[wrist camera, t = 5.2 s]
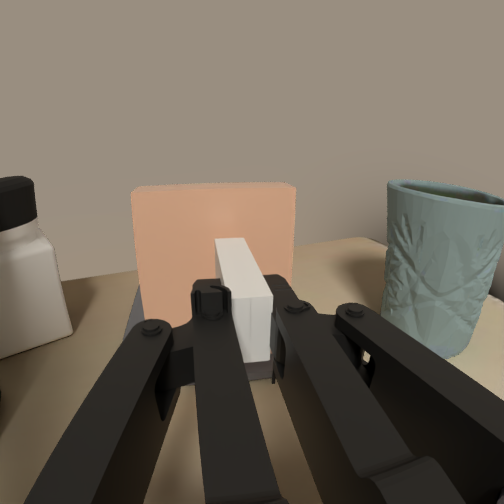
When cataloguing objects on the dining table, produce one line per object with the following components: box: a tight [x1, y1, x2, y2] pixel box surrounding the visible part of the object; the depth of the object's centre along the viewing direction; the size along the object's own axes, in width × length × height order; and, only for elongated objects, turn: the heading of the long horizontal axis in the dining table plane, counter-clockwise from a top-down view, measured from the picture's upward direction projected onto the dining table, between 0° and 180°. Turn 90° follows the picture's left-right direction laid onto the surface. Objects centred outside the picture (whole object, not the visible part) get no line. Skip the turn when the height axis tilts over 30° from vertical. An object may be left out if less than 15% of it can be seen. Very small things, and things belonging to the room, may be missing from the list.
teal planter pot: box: [380, 180, 504, 359], centre depth 22 cm, size 10×10×12 cm
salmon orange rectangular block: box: [131, 182, 296, 354], centre depth 20 cm, size 9×3×11 cm, turn 100°
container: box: [0, 176, 73, 359], centre depth 20 cm, size 8×8×13 cm
